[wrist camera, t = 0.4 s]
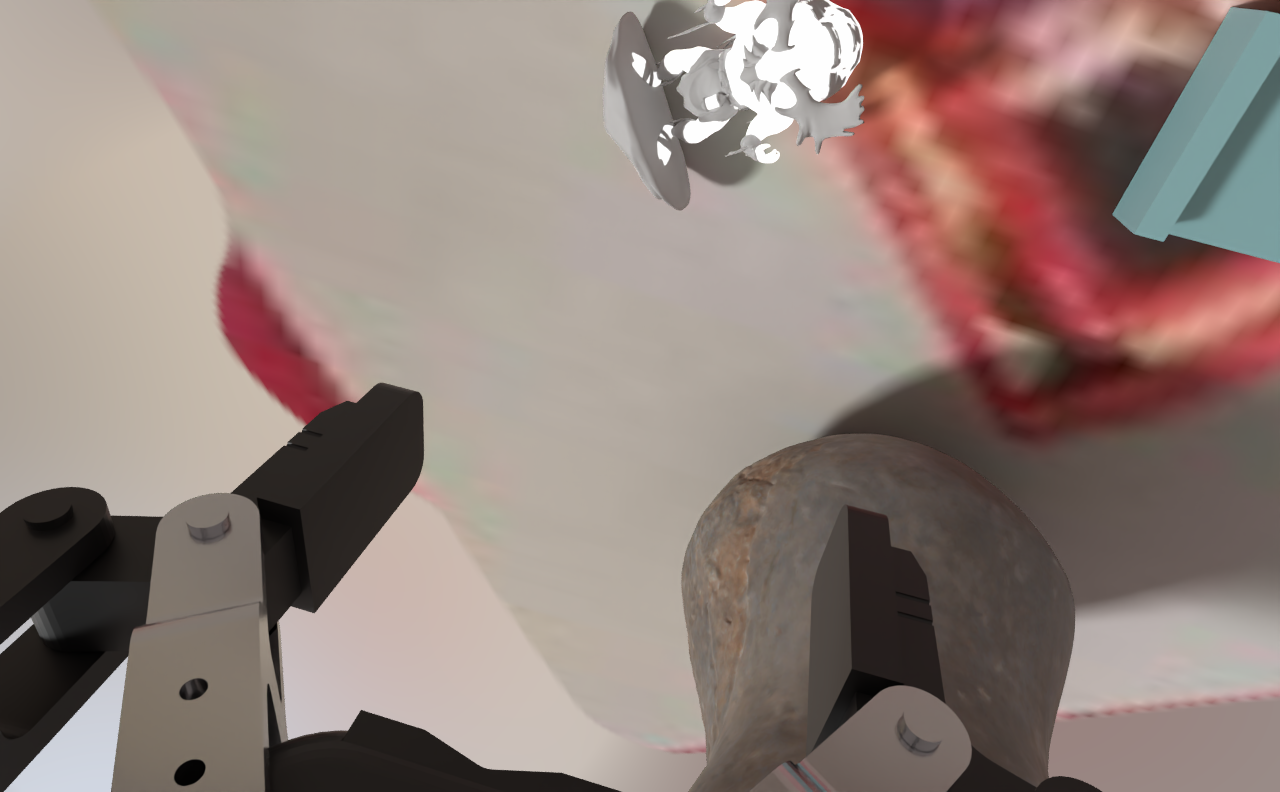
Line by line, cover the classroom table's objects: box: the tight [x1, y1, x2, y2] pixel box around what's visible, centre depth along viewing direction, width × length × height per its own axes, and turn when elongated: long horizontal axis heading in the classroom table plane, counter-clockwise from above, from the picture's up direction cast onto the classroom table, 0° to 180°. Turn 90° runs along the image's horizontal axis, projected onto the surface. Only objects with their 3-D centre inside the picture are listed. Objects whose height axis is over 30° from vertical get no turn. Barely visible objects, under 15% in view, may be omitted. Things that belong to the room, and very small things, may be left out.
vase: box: [682, 434, 1075, 792], centre depth 36 cm, size 20×19×25 cm
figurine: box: [603, 0, 864, 210], centre depth 34 cm, size 9×6×12 cm
